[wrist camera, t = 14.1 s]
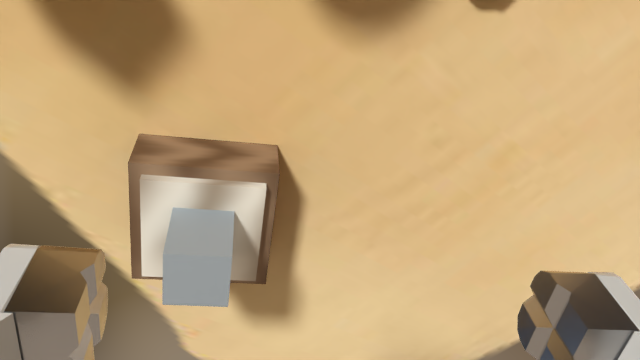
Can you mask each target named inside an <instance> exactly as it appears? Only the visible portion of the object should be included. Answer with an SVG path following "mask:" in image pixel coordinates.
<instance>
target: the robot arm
mask: <svg viewBox="0 0 640 360" xmlns="http://www.w3.org/2000/svg"><path fill="white" fill-rule="evenodd" d="M105 269H106V265H105V255H104V252H103V251H102V250H101V249H87V248H72V247H57V246H38V245H22V244H9V245H8V246H6V247H5V248H4V249H3V250H2V251H1V253H0V360H94V350H93V347H94V346H95V345H96V344H97V343H99V342H100V341H101V339H102V335H103V332H104V328H105V322H106V316H107V308H108V293H107V292H108V291H107V287H106V286H105V285H104V284H103V283H102V282H101V281H102V278H103V275H104V272H105ZM530 287H531V289H532V292H533V294H534V295H533V296H532V297H530V298H529V299H528V300H526V301H525V302H524V303H523V304H522V306H521V309H520V312H519V314H518V329H517V330H518V334H519V338H520V341H521V343H522V345H523V347H524V349H525V351H526V352H528V353H529V354H530V355H532V356H533V357H534V358H535V359H537V360H640V300H639V299H638V297H637V296H636V295H635V294H634V293H633V291H632V290H631V289H630V288H629V287H628V285H627V284H626V283H625V282H624V281H623V279H622V278H621V277H620V276H618V275H616V274H614V273H608V272H588V273H584V272H560V271H540V272H539V273H538V274H537V275H536V276H535V277H534V279H533V281H532V283H531V286H530Z"/></svg>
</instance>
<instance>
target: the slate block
mask: <svg viewBox="0 0 640 360" xmlns="http://www.w3.org/2000/svg"><path fill="white" fill-rule="evenodd" d="M234 212H235V211H222V210H206V209H190V208H174V207H173V209H172V214H171V218H170V223H169V228H168V232H167V237H166V241H165V246H164V251H163V305H190V306H218V307H228V301H229V289H230V278H231V266H232V252H233V232H234Z"/></svg>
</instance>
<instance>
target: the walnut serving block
mask: <svg viewBox="0 0 640 360" xmlns="http://www.w3.org/2000/svg"><path fill="white" fill-rule="evenodd" d="M128 174H129V205H130V236H131V267H132V278H135V279H159V280H163V251H164V246H165V241H166V237H167V232H168V228H169V223H170V218H171V214H172V209H173V207H174V208H190V209H206V210H222V211H235V212H234V232H233V252H232V266H231V278H230V283H254V284H266V277H267V269H268V261H269V253H270V245H271V238H272V230H273V222H274V214H275V206H276V199H277V191H278V183H279V175H280V172H279V159H278V147H277V145H266V144H254V143H242V142H230V141H218V140H206V139H194V138H182V137H170V136H157V135H145V134H139V136H138V138H137V141H136V143H135V146H134V149H133V151H132V154H131V156H130V159H129V162H128Z"/></svg>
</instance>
